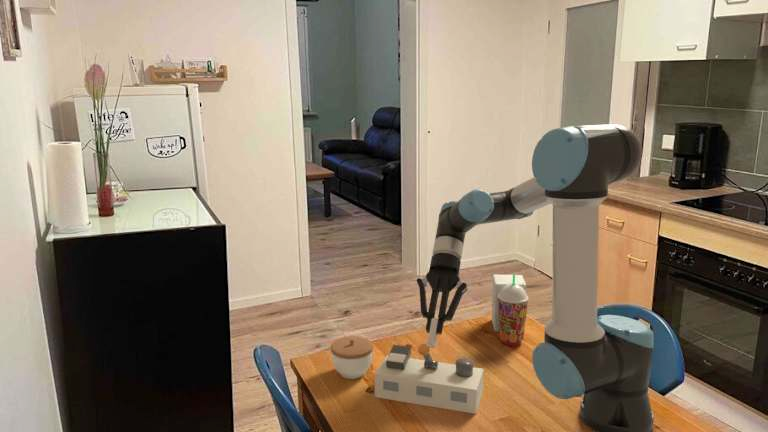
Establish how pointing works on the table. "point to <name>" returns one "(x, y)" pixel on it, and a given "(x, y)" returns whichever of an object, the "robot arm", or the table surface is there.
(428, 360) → the lever
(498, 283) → the supplement box
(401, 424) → the table surface
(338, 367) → the lidded jar
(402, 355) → the block
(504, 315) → the smoothie
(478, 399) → the console
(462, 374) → the button
